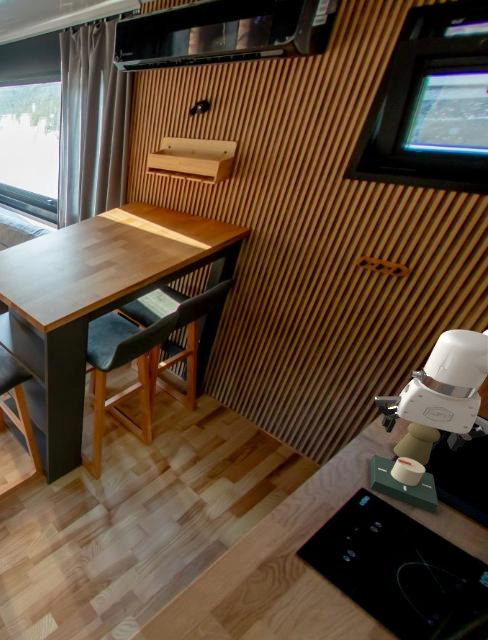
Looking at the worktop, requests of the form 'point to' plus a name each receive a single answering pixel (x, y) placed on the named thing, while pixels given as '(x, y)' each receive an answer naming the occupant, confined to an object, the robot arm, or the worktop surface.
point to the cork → (417, 443)
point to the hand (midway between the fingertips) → (418, 437)
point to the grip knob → (407, 471)
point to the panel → (402, 485)
